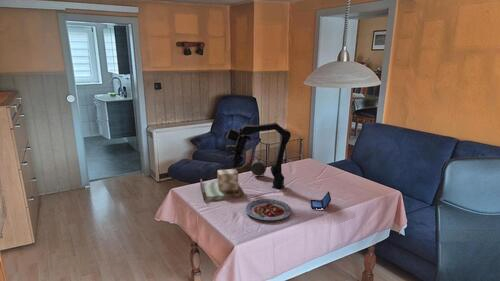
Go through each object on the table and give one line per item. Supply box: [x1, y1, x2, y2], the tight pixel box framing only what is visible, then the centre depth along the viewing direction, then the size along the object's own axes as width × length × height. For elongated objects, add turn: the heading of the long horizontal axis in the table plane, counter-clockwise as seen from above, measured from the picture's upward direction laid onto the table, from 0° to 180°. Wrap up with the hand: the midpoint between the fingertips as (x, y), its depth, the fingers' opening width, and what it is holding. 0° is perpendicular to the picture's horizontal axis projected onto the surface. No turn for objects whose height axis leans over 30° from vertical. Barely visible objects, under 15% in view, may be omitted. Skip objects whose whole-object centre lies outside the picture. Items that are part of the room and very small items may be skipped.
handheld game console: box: [310, 191, 332, 210], centre depth 189 cm, size 12×11×7 cm
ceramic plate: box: [244, 198, 292, 221], centre depth 181 cm, size 26×26×3 cm
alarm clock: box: [250, 154, 267, 178], centre depth 233 cm, size 11×5×16 cm, turn 84°
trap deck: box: [199, 178, 245, 202], centre depth 206 cm, size 25×22×6 cm
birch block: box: [216, 168, 239, 191], centre depth 206 cm, size 12×8×11 cm, turn 104°
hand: (233, 165), depth 209 cm, fingers open, 9 cm apart
